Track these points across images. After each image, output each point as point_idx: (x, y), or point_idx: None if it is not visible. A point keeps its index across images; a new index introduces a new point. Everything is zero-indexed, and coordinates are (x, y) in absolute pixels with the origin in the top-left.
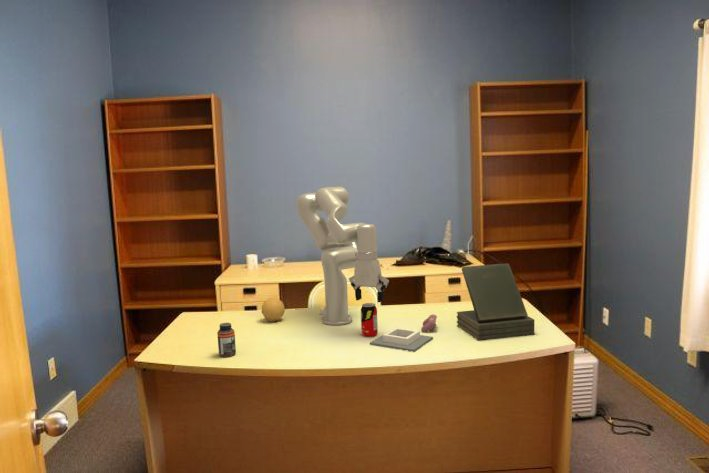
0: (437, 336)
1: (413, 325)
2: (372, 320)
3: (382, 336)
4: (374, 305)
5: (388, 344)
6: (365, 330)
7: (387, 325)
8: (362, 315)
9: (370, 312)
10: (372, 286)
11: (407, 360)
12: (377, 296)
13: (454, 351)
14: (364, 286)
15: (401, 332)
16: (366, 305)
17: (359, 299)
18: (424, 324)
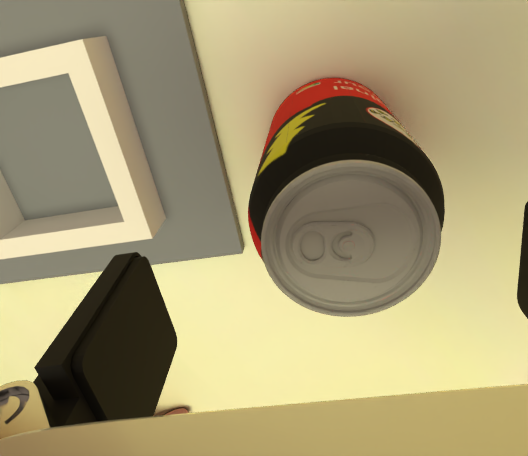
0: (12, 319)
1: (231, 393)
2: (265, 146)
3: (196, 127)
4: (264, 259)
5: (29, 5)
6: (320, 84)
7: (352, 336)
8: (365, 112)
9: (267, 156)
10: (26, 433)
11: None
12: (108, 305)
13: None
14: (381, 396)
15: (103, 217)
16: (362, 215)
17: (521, 249)
18: (176, 413)
